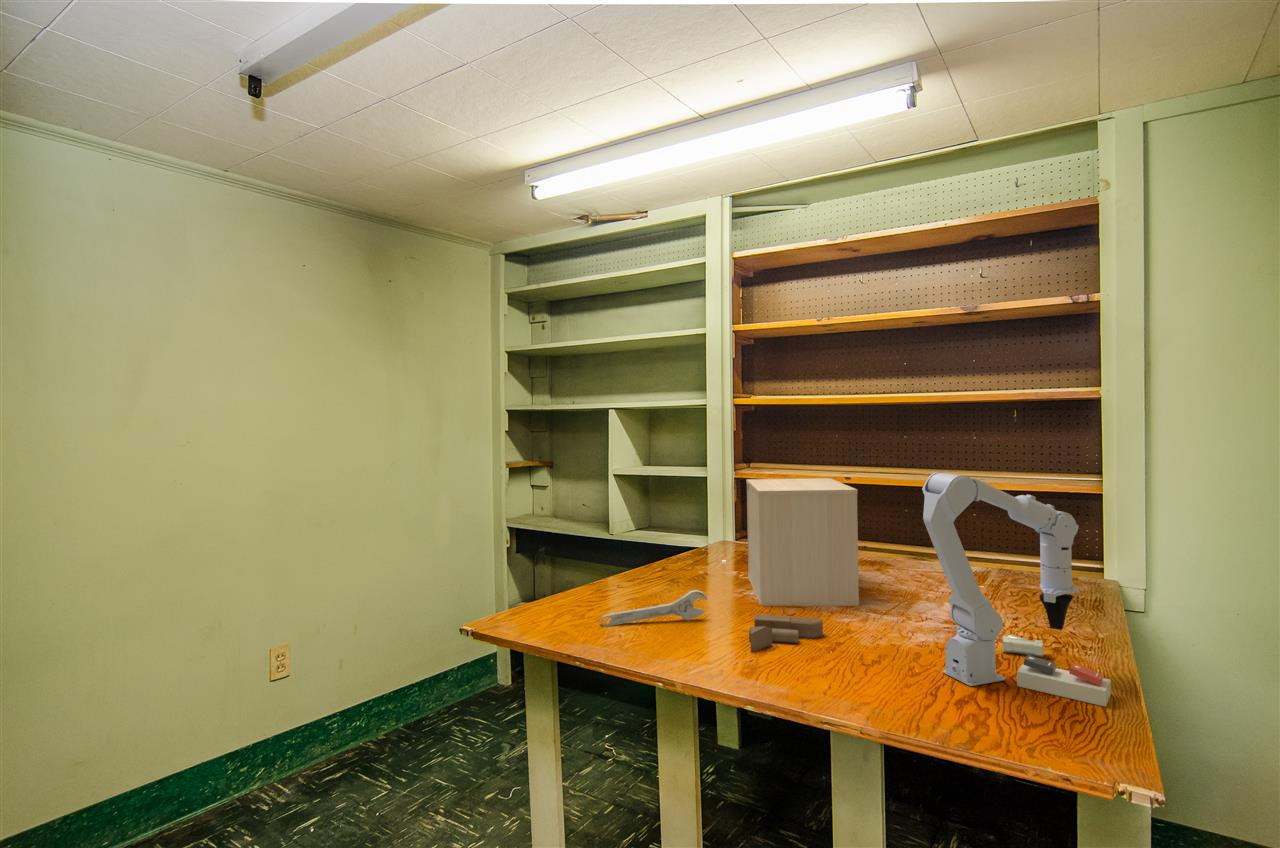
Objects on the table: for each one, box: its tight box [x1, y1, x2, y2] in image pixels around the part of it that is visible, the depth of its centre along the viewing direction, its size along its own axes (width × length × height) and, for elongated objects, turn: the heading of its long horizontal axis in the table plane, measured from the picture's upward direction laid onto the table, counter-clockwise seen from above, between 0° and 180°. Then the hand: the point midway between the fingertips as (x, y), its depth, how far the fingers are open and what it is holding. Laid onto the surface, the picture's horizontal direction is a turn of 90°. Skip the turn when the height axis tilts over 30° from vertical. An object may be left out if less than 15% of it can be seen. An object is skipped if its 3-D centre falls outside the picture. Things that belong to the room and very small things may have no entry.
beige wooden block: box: [745, 477, 860, 607], centre depth 210 cm, size 35×29×34 cm
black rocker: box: [1023, 655, 1058, 675], centre depth 134 cm, size 5×3×1 cm, turn 48°
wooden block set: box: [748, 613, 824, 653], centre depth 163 cm, size 17×6×18 cm
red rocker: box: [1069, 662, 1105, 686], centre depth 129 cm, size 5×3×1 cm, turn 48°
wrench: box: [600, 589, 708, 627], centre depth 180 cm, size 8×2×30 cm
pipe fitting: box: [1002, 634, 1044, 658], centre depth 153 cm, size 8×4×7 cm
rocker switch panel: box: [1016, 662, 1112, 707], centre depth 132 cm, size 15×7×3 cm, turn 48°
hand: (1056, 628), depth 141 cm, fingers closed
